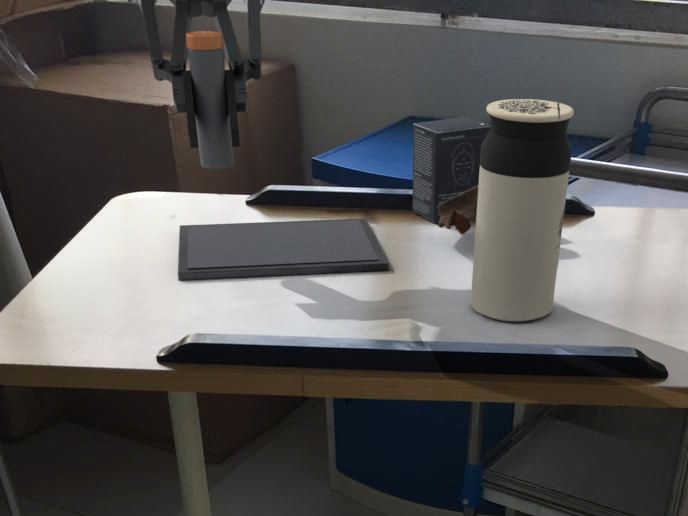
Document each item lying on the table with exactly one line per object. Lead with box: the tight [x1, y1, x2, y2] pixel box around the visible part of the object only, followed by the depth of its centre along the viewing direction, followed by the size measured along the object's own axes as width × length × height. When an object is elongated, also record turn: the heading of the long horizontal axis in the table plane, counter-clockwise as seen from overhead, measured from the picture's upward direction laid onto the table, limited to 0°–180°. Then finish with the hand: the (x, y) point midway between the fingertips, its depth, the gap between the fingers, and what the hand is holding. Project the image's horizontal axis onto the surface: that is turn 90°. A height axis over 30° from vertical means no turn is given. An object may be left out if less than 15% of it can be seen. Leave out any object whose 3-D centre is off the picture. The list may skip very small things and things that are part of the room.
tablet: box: [177, 217, 390, 281], centre depth 99 cm, size 22×16×1 cm
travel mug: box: [470, 98, 575, 323], centre depth 81 cm, size 8×8×18 cm
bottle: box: [186, 30, 235, 170], centre depth 89 cm, size 4×4×12 cm
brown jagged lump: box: [437, 185, 479, 236], centre depth 101 cm, size 12×10×8 cm
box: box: [411, 116, 490, 224], centre depth 108 cm, size 8×6×11 cm
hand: (214, 138), depth 88 cm, fingers closed on bottle, 3 cm apart
